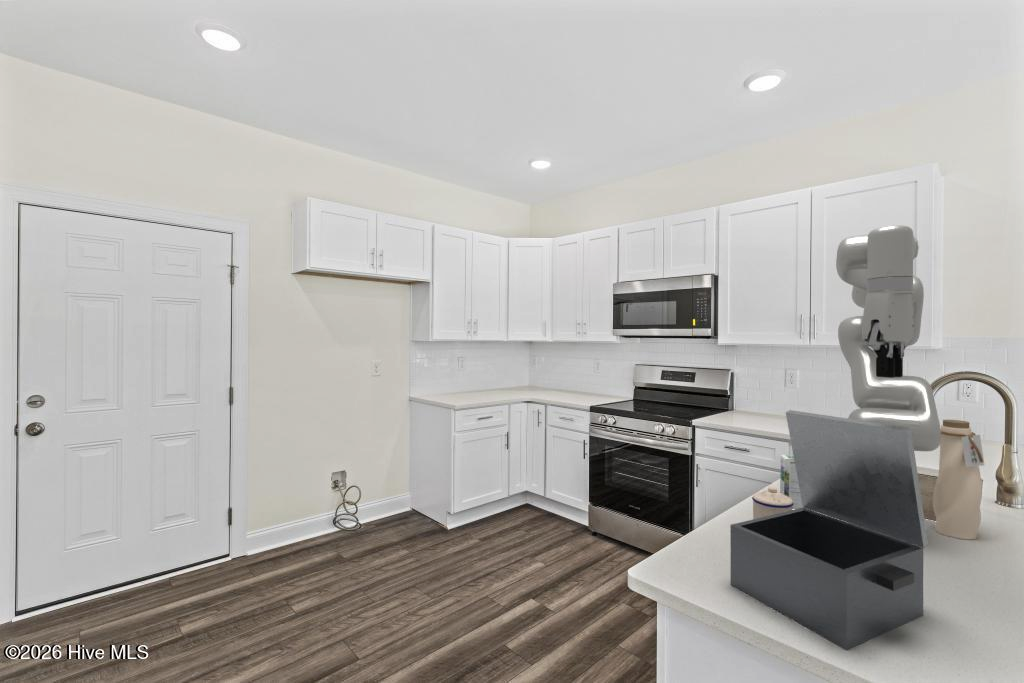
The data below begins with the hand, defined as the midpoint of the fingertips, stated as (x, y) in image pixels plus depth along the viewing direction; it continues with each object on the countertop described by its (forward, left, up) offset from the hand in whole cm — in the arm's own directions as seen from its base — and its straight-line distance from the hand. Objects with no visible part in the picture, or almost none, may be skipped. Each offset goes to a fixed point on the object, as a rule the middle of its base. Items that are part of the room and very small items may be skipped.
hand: (889, 376), depth 99 cm
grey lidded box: (+22, 0, -41) cm, 47 cm away
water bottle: (-38, -4, -41) cm, 56 cm away
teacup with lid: (+2, -24, -41) cm, 48 cm away
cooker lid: (+14, 0, -18) cm, 23 cm away
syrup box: (-19, -34, -41) cm, 57 cm away
